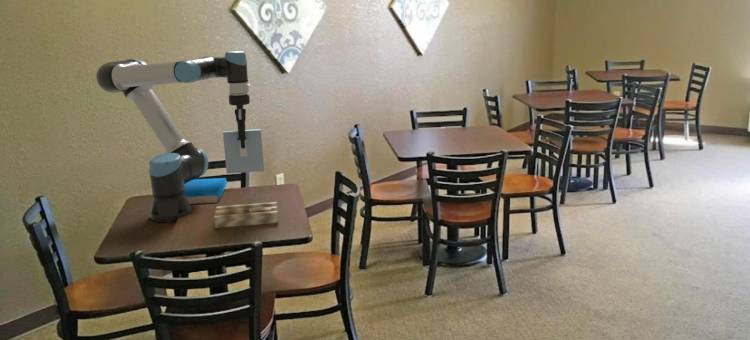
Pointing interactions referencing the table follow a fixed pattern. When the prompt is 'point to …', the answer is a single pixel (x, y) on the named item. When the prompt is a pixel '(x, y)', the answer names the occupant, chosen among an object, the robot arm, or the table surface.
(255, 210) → the offcut right
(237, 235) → the table surface
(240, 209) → the offcut left
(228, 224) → the rack
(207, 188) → the book
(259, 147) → the pale blue panel
